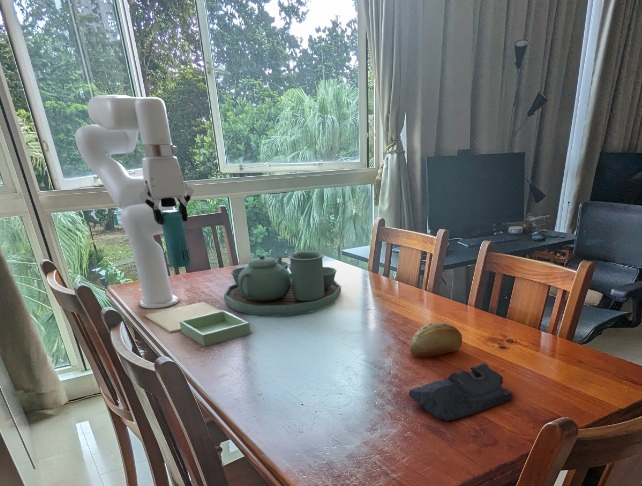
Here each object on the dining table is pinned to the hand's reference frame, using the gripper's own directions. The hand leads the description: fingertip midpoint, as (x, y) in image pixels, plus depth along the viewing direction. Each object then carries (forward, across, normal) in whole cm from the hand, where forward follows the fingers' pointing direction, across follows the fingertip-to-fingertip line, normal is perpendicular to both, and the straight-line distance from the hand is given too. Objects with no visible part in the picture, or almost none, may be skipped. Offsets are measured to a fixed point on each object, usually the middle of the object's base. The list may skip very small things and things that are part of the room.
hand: (172, 221), depth 147 cm
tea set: (+29, -33, +3) cm, 44 cm away
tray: (+29, 0, +17) cm, 33 cm away
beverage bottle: (+14, 0, 0) cm, 14 cm away
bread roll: (+28, -36, +72) cm, 85 cm away
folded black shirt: (+28, -21, +92) cm, 98 cm away
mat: (+29, 0, -2) cm, 29 cm away
